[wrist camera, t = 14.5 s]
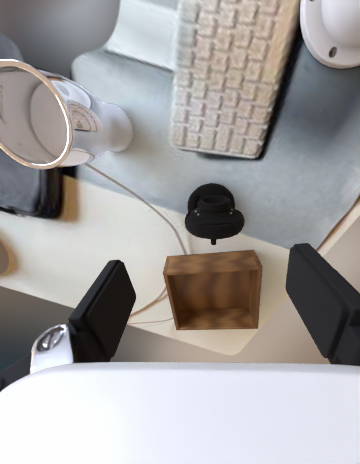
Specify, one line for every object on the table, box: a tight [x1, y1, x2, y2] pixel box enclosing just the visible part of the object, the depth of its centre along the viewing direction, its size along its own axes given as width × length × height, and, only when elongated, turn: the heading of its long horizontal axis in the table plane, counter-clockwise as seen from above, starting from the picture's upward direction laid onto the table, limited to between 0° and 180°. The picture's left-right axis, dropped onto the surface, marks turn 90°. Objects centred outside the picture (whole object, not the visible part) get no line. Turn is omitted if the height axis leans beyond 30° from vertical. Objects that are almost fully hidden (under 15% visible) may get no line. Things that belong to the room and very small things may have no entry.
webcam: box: [185, 183, 244, 245], centre depth 26 cm, size 8×8×10 cm
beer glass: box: [0, 59, 133, 169], centre depth 19 cm, size 7×7×15 cm
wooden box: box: [163, 250, 262, 330], centre depth 36 cm, size 16×15×5 cm
